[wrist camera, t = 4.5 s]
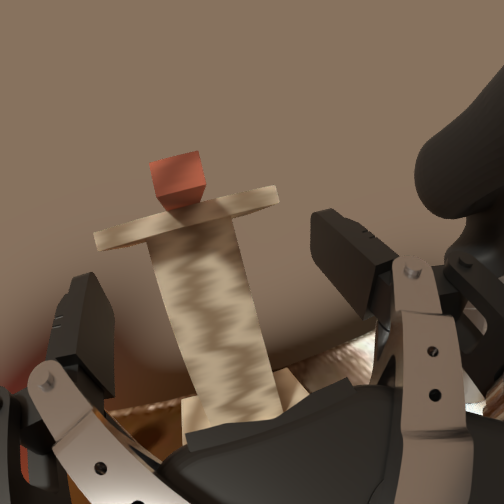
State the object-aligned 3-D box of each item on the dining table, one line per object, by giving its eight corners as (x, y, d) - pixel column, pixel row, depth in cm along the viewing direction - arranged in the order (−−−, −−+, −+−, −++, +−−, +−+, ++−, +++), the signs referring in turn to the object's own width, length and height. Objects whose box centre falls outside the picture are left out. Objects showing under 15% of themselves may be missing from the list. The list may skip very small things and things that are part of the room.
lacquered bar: (195, 214, 44) (191, 199, 44) (206, 184, 19) (198, 150, 19) (174, 220, 44) (170, 205, 43) (156, 197, 18) (149, 162, 18)
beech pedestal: (289, 376, 49) (245, 202, 46) (326, 422, 34) (275, 184, 30) (185, 407, 45) (124, 234, 42) (188, 466, 30) (93, 233, 26)
